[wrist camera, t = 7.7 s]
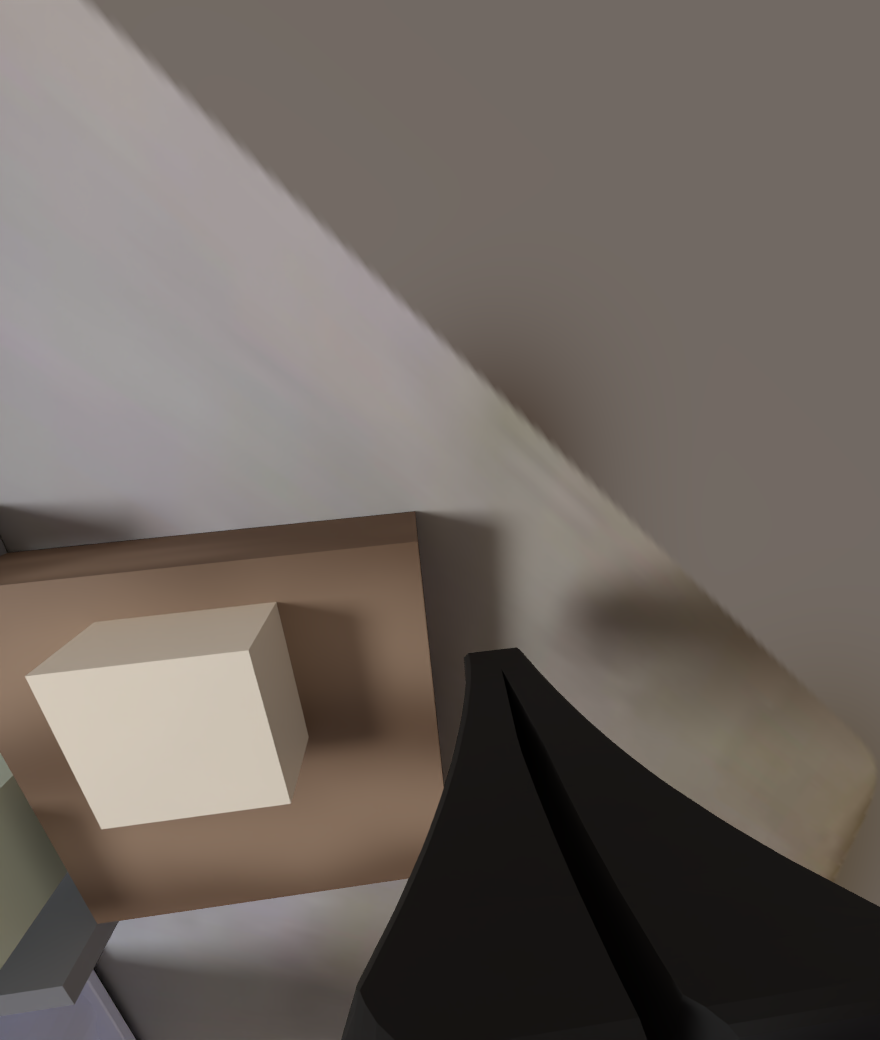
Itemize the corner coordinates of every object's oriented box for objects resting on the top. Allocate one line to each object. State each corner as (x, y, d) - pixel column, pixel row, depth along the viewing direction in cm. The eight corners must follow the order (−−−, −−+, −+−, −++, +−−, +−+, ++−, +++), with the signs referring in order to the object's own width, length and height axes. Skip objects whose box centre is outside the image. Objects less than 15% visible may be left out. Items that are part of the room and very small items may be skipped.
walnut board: (445, 802, 17) (452, 871, 14) (142, 844, 16) (97, 923, 14) (415, 511, 13) (417, 541, 10) (7, 552, 12) (-90, 594, 10)
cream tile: (308, 737, 12) (290, 803, 10) (149, 757, 12) (101, 829, 10) (276, 601, 11) (248, 650, 9) (94, 622, 10) (24, 675, 8)
